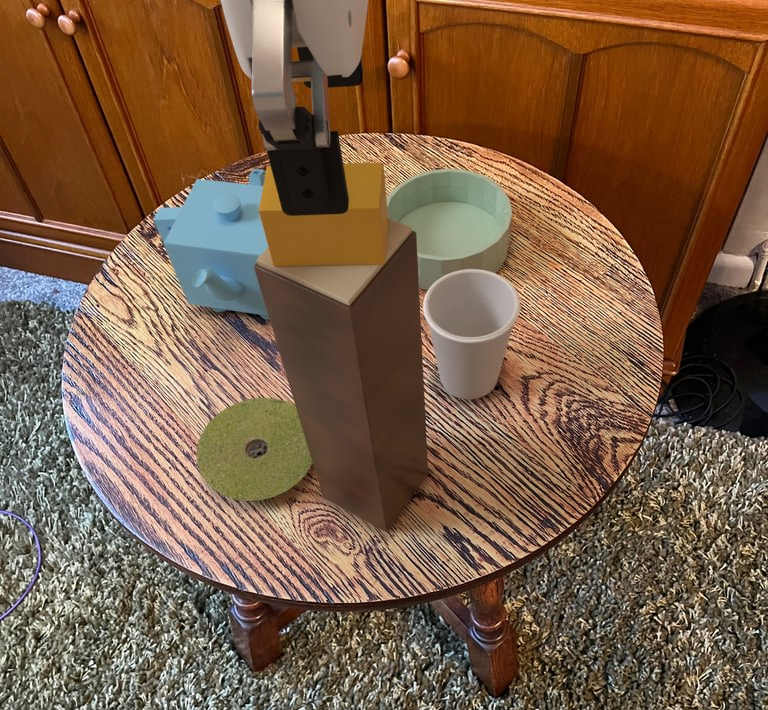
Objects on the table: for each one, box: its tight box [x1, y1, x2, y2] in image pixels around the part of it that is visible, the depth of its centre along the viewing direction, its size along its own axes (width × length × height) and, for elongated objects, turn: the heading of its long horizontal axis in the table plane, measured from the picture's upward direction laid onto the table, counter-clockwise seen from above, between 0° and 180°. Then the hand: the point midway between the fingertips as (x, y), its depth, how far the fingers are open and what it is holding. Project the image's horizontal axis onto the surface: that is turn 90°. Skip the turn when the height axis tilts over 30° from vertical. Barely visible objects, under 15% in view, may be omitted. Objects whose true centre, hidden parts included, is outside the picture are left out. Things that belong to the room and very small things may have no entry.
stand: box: [254, 218, 429, 533], centre depth 58 cm, size 7×7×28 cm
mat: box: [195, 397, 313, 502], centre depth 72 cm, size 11×11×2 cm
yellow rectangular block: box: [259, 161, 388, 266], centre depth 43 cm, size 6×4×4 cm, turn 87°
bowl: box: [386, 167, 513, 291], centre depth 82 cm, size 13×13×4 cm
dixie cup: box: [422, 269, 521, 400], centre depth 71 cm, size 8×8×10 cm
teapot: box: [152, 168, 270, 320], centre depth 78 cm, size 16×18×11 cm
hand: (326, 143), depth 39 cm, fingers open, 9 cm apart
